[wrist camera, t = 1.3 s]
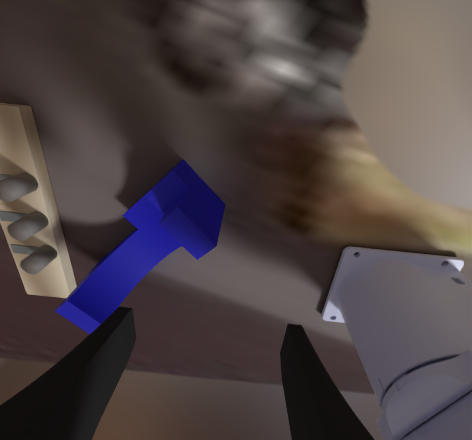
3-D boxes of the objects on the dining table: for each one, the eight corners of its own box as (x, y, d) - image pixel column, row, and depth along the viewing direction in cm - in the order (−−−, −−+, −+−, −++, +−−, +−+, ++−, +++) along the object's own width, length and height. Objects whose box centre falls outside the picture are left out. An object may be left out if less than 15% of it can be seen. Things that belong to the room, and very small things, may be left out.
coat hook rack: (30, 105, 16) (-12, 108, 14) (77, 290, 24) (55, 315, 21) (-30, 99, 16) (-84, 100, 14) (35, 286, 24) (8, 311, 21)
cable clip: (183, 158, 18) (155, 186, 12) (225, 203, 19) (216, 245, 14) (87, 247, 22) (34, 297, 16) (128, 279, 23) (92, 335, 18)
